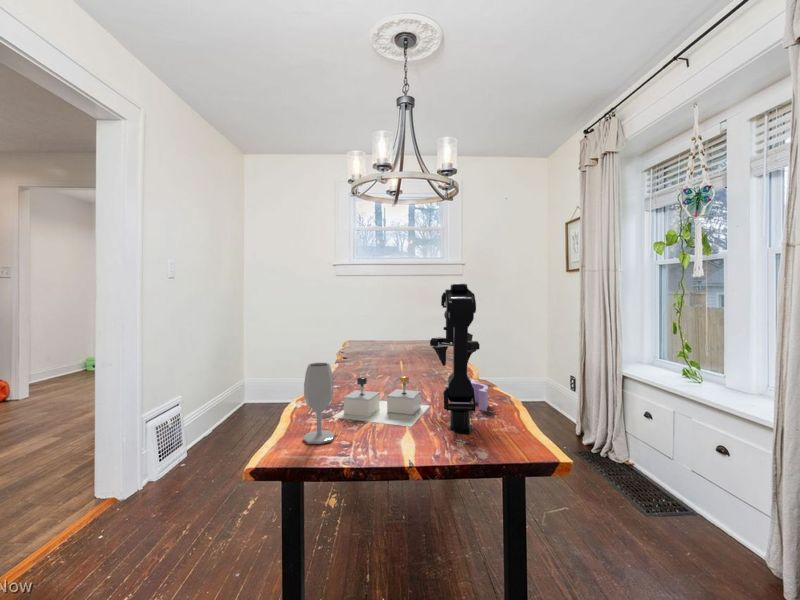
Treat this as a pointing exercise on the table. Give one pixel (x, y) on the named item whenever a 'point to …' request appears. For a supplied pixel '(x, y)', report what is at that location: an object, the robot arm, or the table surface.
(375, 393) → the white square block
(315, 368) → the wineglass
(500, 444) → the table surface
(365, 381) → the plunger
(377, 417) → the board
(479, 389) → the clip
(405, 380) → the plunger
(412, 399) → the white square box
